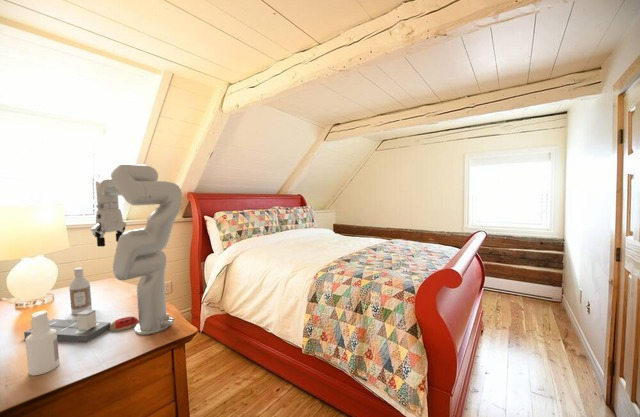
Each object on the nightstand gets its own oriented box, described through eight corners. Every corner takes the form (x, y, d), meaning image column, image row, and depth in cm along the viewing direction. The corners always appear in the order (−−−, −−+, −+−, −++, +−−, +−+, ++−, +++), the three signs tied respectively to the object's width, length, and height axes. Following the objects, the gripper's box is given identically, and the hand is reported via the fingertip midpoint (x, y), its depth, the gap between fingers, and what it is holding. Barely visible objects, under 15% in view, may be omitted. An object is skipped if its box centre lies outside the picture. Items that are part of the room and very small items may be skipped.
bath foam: (70, 316, 119) (66, 271, 118) (73, 310, 125) (69, 267, 123) (90, 312, 123) (87, 269, 121) (92, 306, 129) (89, 265, 127)
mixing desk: (111, 328, 109) (110, 322, 109) (87, 342, 99) (86, 335, 99) (53, 324, 112) (52, 318, 112) (24, 338, 102) (24, 331, 102)
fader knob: (96, 325, 106) (95, 310, 106) (87, 330, 103) (86, 314, 102) (87, 324, 107) (85, 309, 106) (78, 329, 103) (76, 313, 103)
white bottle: (65, 361, 89) (60, 307, 88) (45, 375, 82) (39, 318, 81) (43, 361, 89) (38, 308, 87) (21, 376, 82) (15, 318, 81)
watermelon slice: (110, 327, 111) (109, 319, 110) (139, 320, 116) (138, 312, 116) (109, 334, 105) (108, 326, 105) (139, 327, 111) (139, 318, 111)
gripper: (98, 208, 115) (101, 248, 116) (131, 205, 132) (133, 240, 133) (82, 208, 115) (85, 248, 117) (116, 205, 133) (119, 239, 134)
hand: (110, 243), depth 125 cm, fingers open, 9 cm apart
